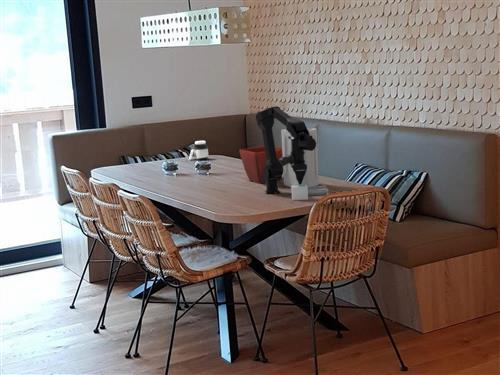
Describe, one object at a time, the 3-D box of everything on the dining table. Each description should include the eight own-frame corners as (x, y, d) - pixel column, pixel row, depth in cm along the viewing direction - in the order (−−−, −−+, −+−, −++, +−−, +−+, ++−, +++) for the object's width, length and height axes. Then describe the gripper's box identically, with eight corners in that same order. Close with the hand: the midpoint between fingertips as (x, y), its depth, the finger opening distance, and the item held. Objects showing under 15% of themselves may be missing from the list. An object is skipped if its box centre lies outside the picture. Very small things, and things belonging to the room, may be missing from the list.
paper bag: (326, 186, 381) (324, 130, 375) (299, 190, 375) (297, 133, 370) (309, 181, 398) (307, 127, 393) (283, 184, 393) (280, 129, 387)
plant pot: (240, 180, 411) (238, 149, 408) (271, 176, 419) (270, 145, 416) (257, 185, 394) (255, 152, 391) (289, 180, 403) (288, 148, 400)
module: (291, 198, 358) (291, 184, 357) (306, 197, 358) (306, 183, 357) (292, 200, 353) (292, 186, 352) (308, 199, 353) (307, 185, 352)
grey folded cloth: (294, 192, 371) (294, 184, 370) (325, 190, 371) (325, 182, 370) (296, 196, 361) (296, 188, 360) (328, 194, 361) (328, 186, 361)
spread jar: (210, 159, 492) (209, 141, 490) (194, 161, 487) (193, 143, 484) (201, 157, 502) (200, 140, 500) (186, 159, 497) (184, 141, 495)
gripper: (278, 147, 360) (280, 180, 363) (281, 152, 342) (283, 187, 345) (302, 145, 361) (303, 178, 363) (306, 151, 342) (307, 186, 345)
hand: (299, 182), depth 354 cm, fingers open, 9 cm apart
